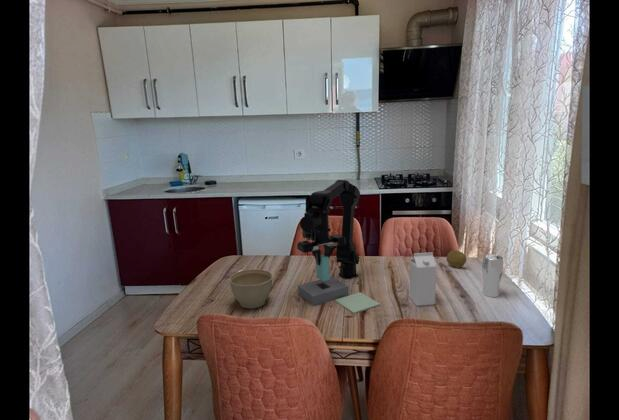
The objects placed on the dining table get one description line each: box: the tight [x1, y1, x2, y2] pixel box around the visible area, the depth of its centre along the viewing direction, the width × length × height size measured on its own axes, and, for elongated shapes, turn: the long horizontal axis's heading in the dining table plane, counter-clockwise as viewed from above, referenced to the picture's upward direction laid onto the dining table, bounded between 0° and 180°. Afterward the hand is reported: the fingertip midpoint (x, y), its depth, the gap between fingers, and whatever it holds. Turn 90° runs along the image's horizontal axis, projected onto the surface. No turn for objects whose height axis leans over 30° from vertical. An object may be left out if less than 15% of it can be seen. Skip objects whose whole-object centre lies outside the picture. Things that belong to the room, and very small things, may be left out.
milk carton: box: [409, 251, 437, 307], centre depth 136 cm, size 7×7×19 cm
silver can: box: [481, 253, 504, 298], centre depth 141 cm, size 7×7×15 cm
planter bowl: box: [228, 268, 274, 310], centre depth 141 cm, size 16×16×11 cm
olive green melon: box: [446, 249, 467, 269], centre depth 169 cm, size 7×8×8 cm
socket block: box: [297, 275, 350, 307], centre depth 146 cm, size 16×12×4 cm
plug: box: [315, 253, 331, 281], centre depth 144 cm, size 3×5×9 cm, turn 29°
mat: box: [334, 291, 381, 315], centre depth 139 cm, size 12×12×1 cm
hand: (322, 264), depth 144 cm, fingers closed on plug, 3 cm apart
